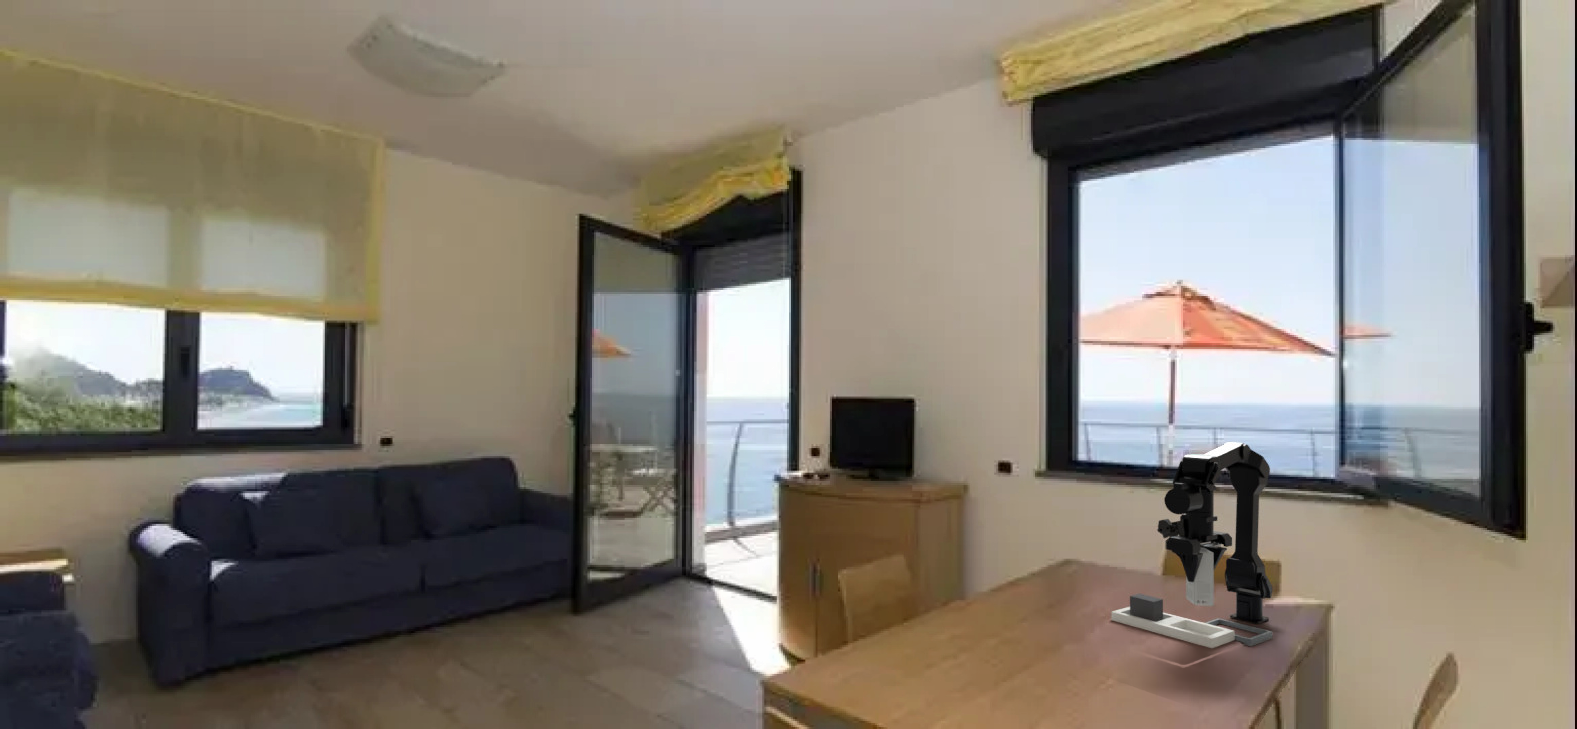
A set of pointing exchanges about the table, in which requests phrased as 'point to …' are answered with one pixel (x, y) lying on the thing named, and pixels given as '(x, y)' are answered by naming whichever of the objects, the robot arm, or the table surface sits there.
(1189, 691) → the table surface
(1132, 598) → the dark gray rectangular block
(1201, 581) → the skincare box
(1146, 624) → the divided desk organizer
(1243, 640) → the gray rectangular frame
